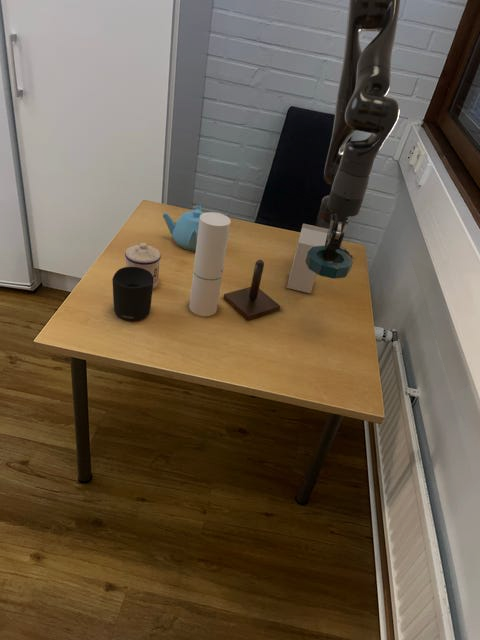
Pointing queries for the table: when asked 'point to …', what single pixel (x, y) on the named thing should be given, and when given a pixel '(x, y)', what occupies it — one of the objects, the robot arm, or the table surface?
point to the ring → (325, 268)
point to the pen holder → (132, 293)
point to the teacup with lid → (144, 259)
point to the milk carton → (300, 273)
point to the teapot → (185, 228)
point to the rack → (252, 298)
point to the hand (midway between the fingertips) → (328, 257)
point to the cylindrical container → (209, 263)
